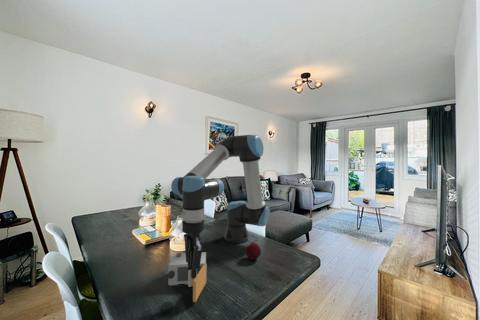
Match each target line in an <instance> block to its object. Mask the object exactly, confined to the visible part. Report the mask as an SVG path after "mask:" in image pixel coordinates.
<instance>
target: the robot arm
mask: <svg viewBox="0 0 480 320" xmlns="http://www.w3.org/2000/svg"><path fill="white" fill-rule="evenodd" d="M263 154H264V143H263V140H262V138H261V137H260V136H259V135H256V134H244V135H231V136H228V137H226V138H224V139H222V140H221V141H220V142H218V143H217V144H216V145H215V146H214V147H213V150H212V151H211V152H210V153H209V154H207V156H205V157H204V158H203V159H201V161H200V162H199V163H197V164H196V165H195V166H194V167H193V168H192V169H191V170H189V172H187V173H186V174H185V175H184V176H183V177H182V176H180V177H179V176H178V177H176V178H174V179H173V180H172V182H171V190H172V193H174V194H175V195H178V196H182V212H181V213H180V214H181V215H182V216H181V218H182V222H181V223H182V224H181V226H182V227H181V230H182V232H183V233H184V234H183V239H184V249H185V252H184V253H186V262H188V284H187V285H188V288H190V287H193V280H194V279H195V278H196V276H197V269H199V268H200V262H201V254H202V252H203V249H204V244H203V243H202V244H200V241H201V233H203V231H204V229H205V221H204V219H205V201H206V200H211V199H215V198H217V197H219V196H221V195H222V194H223V193H224V191H225V185H224V182H223V181H222V180H221V179H220V178H217V177H213V178H208V177H210V175H211V174H212V173H213V172H214V171H215V170H216V169H217V168H218V167H219V166H220V165H221V164H222V163H223V162H224V161H226V160H228V159H229V158H232V157H238V158H239V162H241V164H242V167H243V168H242V169H243V176H244V180H245V181H244V182H245V189H246V199H247V202H246V201H245V200H236V201H231V202H229V203H228V204H227V207H226V209H227V210H226V217H227V218H226V219H227V221H226V222H227V223H226V224H227V225H226V229H225V232H224V240H225V242H228V243H230V244H231V243H232V244H242V243H246V242H247V241H249V233H248V232H249V231H248V229H247V225H251V226H256V227H265V226H267V224H268V222H269V219H270V214H271V210H270V207H269V206H267V204H266V201H265V200H264V199H263V195H262V194H263V193H262V186H261V185H262V184H261V174H260V167H259V166H260V165H259V161H260V160H261V159H262V156H264V155H263Z"/></svg>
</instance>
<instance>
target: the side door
mask: <svg viewBox="0 0 480 320" xmlns="http://www.w3.org/2000/svg"><path fill="white" fill-rule="evenodd" d="M207 265H208V264H207V263H206V264H204V265H203V267H202V268H201V270H200V271H199V273H198V274H197V276H196V278H195V279H194V280H193V286H192V303H197V301H198V298H199V296H200V295H201V293H202V291H203V289H204V288H205V286H206V284H207V282H208V281H207V278H208V277H207V276H208V273H207V271H208V269H207V267H208V266H207Z"/></svg>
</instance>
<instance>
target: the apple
mask: <svg viewBox="0 0 480 320" xmlns="http://www.w3.org/2000/svg"><path fill="white" fill-rule="evenodd" d="M261 253H262V249H261V247H260V245H259V244H258V243H256V242H254V241H252V242H251V243H250V244H248V245H247V246H246V247H245V254H246V256H247V257H246V258H248V259H250V260H251V261H253V260H257V259H258V258H259V257H260V256H261Z"/></svg>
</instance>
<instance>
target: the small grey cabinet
mask: <svg viewBox="0 0 480 320" xmlns="http://www.w3.org/2000/svg"><path fill="white" fill-rule="evenodd" d="M204 264H207V252H206V251H205V252H204V251H202V254H201V262H200V268H199V269H197V274H198V273H199V271H200V270H201V268H202V267H203V265H204ZM167 267H168V268H167V269H168V274H167V279H168V280H167V281H168V285H169V286H179V285H178V284H185V285H188V262H186V253H185V252H178V253H173V255H172V257H171V259H170V261H169V264H168V266H167Z"/></svg>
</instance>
